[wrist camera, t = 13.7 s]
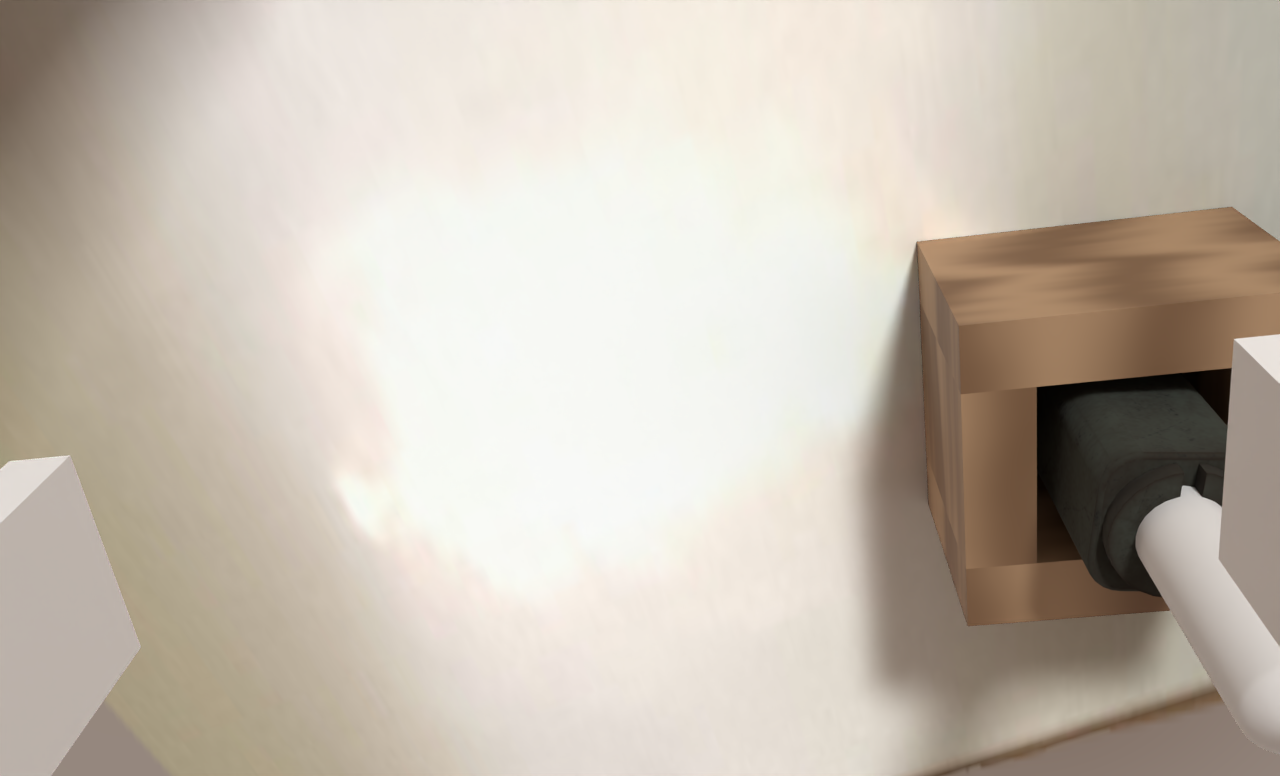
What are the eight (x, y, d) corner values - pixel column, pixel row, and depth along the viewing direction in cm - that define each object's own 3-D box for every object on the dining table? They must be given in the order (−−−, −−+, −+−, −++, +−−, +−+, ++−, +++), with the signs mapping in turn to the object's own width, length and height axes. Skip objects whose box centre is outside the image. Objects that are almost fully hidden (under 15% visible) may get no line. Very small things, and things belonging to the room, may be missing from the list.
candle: (1141, 306, 49) (1514, 720, 26) (1123, 420, 51) (1453, 895, 28) (1012, 307, 49) (1270, 716, 26) (999, 420, 51) (1228, 889, 29)
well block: (928, 503, 53) (967, 626, 45) (916, 241, 48) (958, 325, 40) (1213, 478, 52) (1308, 599, 44) (1232, 206, 47) (1341, 286, 39)
